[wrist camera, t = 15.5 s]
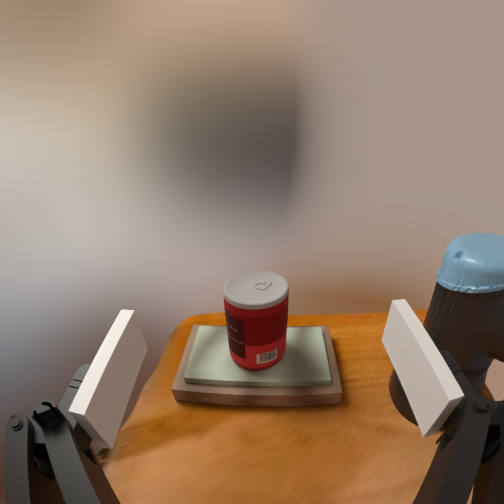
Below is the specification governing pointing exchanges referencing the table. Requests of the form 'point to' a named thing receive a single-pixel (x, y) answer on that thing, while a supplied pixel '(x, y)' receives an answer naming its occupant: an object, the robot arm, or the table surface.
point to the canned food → (256, 318)
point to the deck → (259, 371)
